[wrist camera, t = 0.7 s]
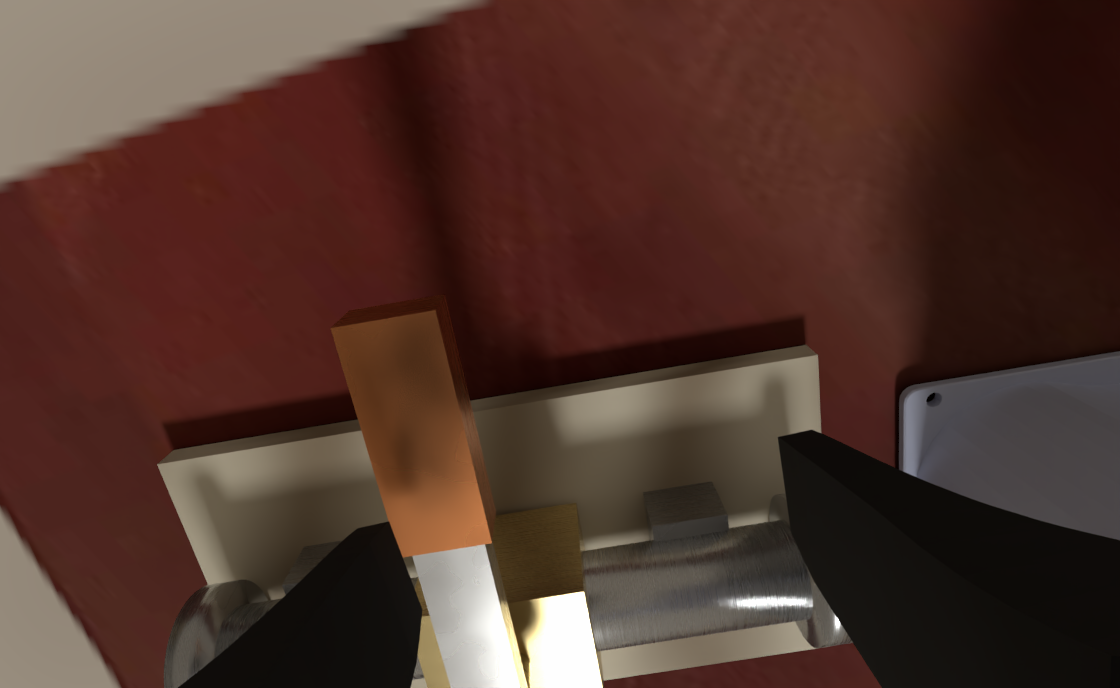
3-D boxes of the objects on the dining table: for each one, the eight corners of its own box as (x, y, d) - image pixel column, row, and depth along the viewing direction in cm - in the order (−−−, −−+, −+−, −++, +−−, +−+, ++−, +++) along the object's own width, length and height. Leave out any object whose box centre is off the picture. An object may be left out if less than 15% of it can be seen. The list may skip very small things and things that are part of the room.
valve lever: (559, 748, 17) (560, 792, 16) (471, 761, 17) (466, 806, 16) (454, 292, 13) (446, 308, 12) (339, 312, 13) (320, 330, 12)
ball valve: (792, 460, 22) (885, 586, 16) (799, 570, 23) (886, 723, 17) (223, 551, 23) (108, 705, 17) (265, 653, 24) (172, 828, 18)
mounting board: (806, 344, 22) (817, 354, 21) (819, 626, 25) (829, 646, 25) (173, 450, 22) (157, 464, 21) (279, 709, 26) (270, 730, 25)
